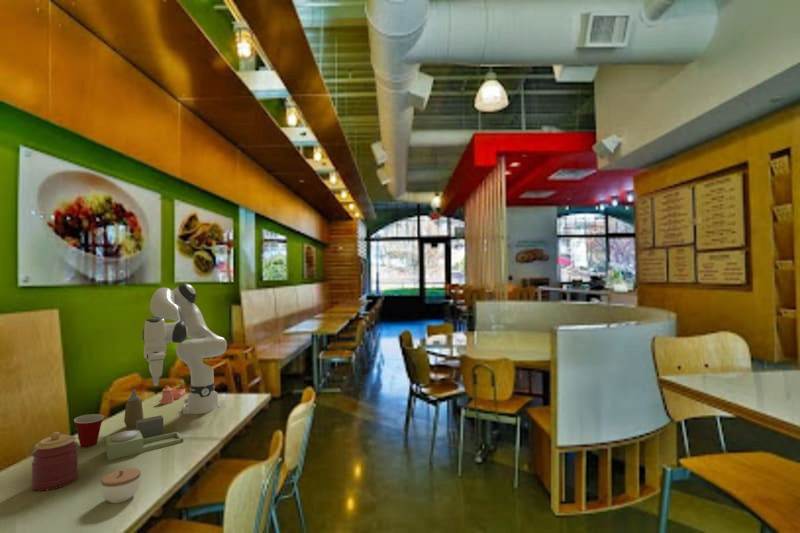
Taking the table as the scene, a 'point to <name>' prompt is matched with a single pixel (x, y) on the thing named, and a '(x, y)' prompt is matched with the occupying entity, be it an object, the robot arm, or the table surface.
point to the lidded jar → (120, 484)
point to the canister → (54, 462)
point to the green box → (135, 443)
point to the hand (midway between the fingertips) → (155, 383)
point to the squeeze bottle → (133, 410)
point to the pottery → (171, 395)
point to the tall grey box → (150, 426)
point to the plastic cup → (88, 429)
